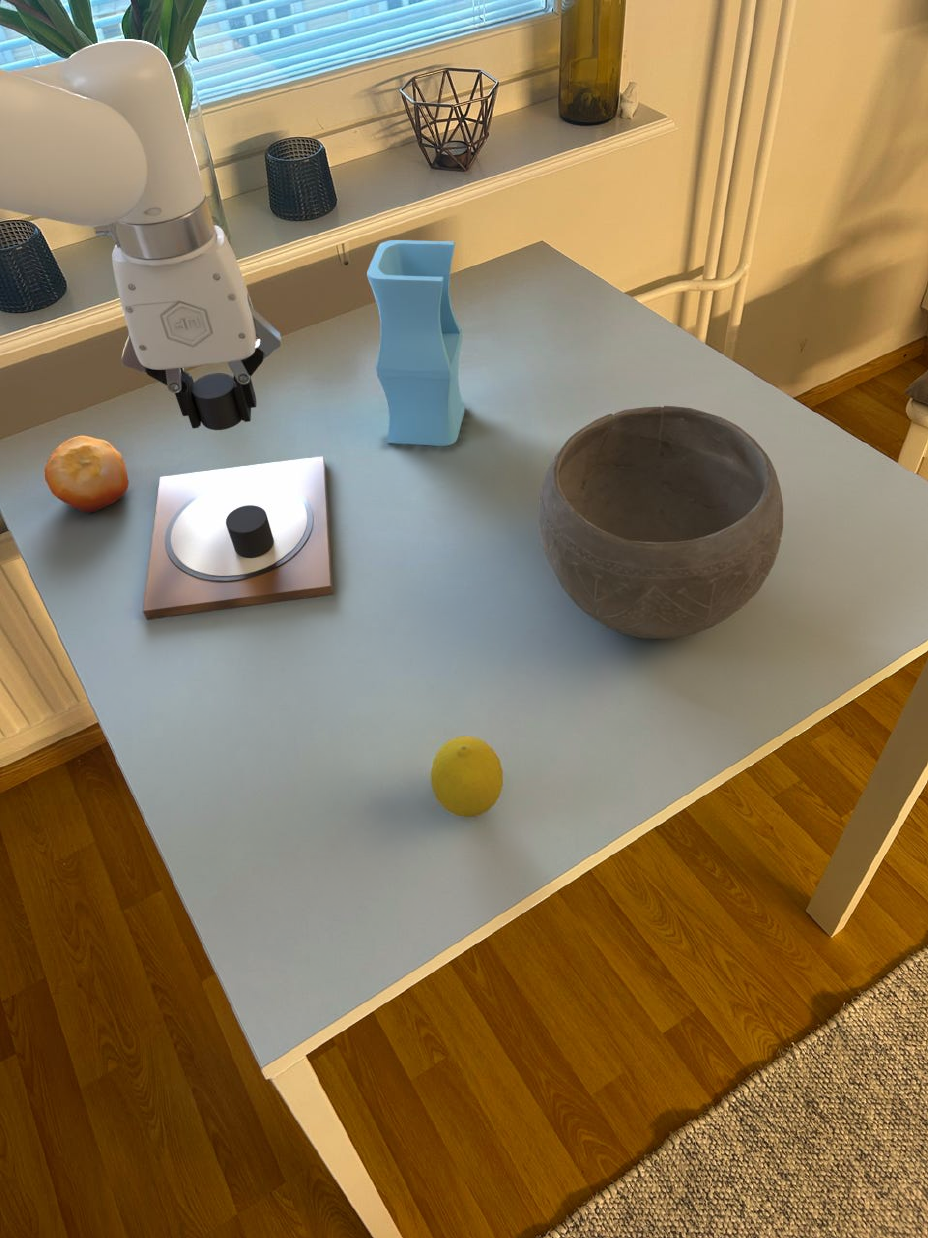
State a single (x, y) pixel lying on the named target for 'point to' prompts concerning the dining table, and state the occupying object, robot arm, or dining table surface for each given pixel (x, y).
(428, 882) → the dining table surface
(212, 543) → the board
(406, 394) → the vase
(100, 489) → the fruit
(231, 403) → the dot
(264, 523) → the dot
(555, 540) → the bowl
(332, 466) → the dining table surface
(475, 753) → the lemon
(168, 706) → the dining table surface
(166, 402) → the dining table surface
